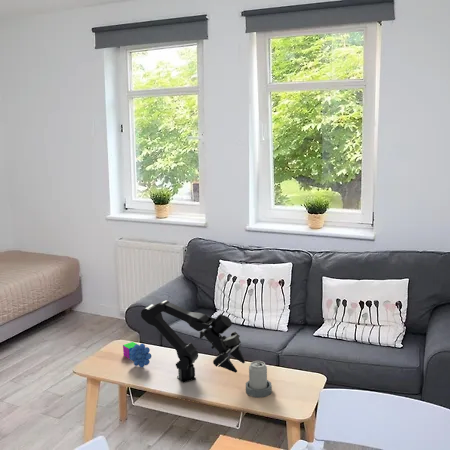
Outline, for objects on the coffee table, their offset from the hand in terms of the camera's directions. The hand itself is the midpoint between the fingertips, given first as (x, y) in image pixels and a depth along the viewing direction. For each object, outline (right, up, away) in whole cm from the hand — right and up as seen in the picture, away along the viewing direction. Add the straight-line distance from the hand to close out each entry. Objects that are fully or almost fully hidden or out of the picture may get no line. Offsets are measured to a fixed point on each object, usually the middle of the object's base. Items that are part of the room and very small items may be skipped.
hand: (240, 367), depth 240 cm
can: (+7, -9, -1) cm, 12 cm away
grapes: (-45, -6, +25) cm, 52 cm away
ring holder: (+8, -10, -1) cm, 12 cm away
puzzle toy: (-52, -4, +37) cm, 64 cm away
